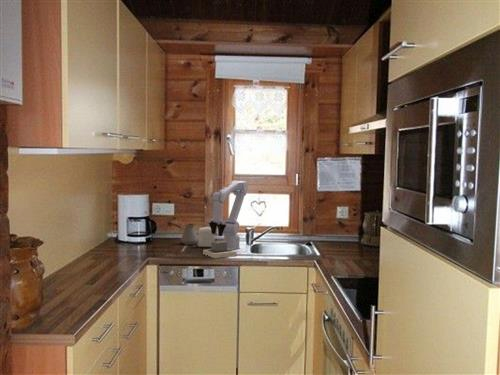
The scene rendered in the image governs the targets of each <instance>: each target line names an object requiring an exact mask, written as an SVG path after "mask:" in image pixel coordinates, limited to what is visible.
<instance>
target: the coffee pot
mask: <svg viewBox="0 0 500 375" xmlns="http://www.w3.org/2000/svg"><path fill="white" fill-rule="evenodd" d="M168 225H169V227H171V226H174V227H177V228H179V229H182V230H184V232H183V233H182V236H181V238H180V242H181V243H183V245H185V246H191V245H192V246H193V245H196V243H197V244H198V235H197V232H196V230H195V226H196V224H194V223H185V224H184V226H185V227H183V226H180V225H178V224H175V223H173V222H170V223H169V224H168Z"/></svg>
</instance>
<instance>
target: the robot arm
mask: <svg viewBox="0 0 500 375" xmlns="http://www.w3.org/2000/svg"><path fill="white" fill-rule="evenodd" d="M248 189H249V185H248V182H247V181H246V180H244V181H243V180H232V181H231V182H230V184H229V185H228V186H227V187H225V186H223V187H222V188H221V189H219V190H218V191H217V192H213V193H212V195H211V201H212V202H211V203H212V205H213V206H212V208H213V209H212V218H209V222H208V224H209V227H210V228H211V232H212V234H214V235H216V232H217V234H218V236H219V237H223V241H225V242H227V249H230V250H235V249H237V250H238V249H240V248H241V247H240V236H239V229H240V222H238V218H239V214H240V211H241V209H242V205H243V201H244V200H245V196H246V195H247V192H248ZM231 192H232V193H233V195H235V199H234V200H233V205H232V207H231V211H230V213H229V217H228V218H226V219H225V220H224V219H223V212H224V209H223V208H224V202H225V200H226V198H227V197H229V196H230V195H231Z"/></svg>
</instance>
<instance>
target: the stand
mask: <svg viewBox="0 0 500 375" xmlns="http://www.w3.org/2000/svg"><path fill="white" fill-rule="evenodd" d="M202 254H203V255H204V254H205V256H207V255H208V256H207V257H209V256H210V257H209V258H213V259H221V257H223V258H230V257H229V256H231V257H237V256H238V251H236V250H235V249H227V250H226V251H218V252H215V251H212V250H211V248H210V249H209V248H208V249H203V250H202Z"/></svg>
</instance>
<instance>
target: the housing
mask: <svg viewBox="0 0 500 375" xmlns="http://www.w3.org/2000/svg"><path fill="white" fill-rule="evenodd" d="M210 249H211V250H212V251H215V252H218V251H226V250H227V242H225V241H224V240H219V241H218V240H217V241H214V242H212V243H211V247H210Z"/></svg>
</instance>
